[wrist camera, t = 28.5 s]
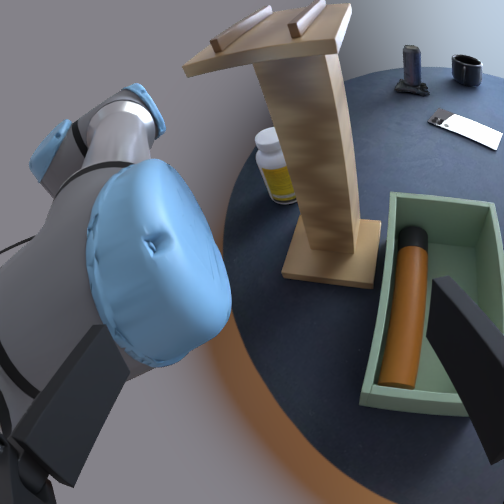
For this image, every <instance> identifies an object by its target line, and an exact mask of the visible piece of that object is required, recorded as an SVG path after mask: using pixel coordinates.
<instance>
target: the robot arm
mask: <svg viewBox="0 0 504 504" xmlns="http://www.w3.org/2000/svg"><path fill="white" fill-rule="evenodd" d="M165 131H166V126H165V123H164V120H163V118H162V116H161V114H160V112H159V110H158V109H157V107H156V105H155V103H154V102H153V100H152V99H151V97H150V95H149V94H148V93H147V92H146V90H145V89H144V87H143V86H141V85H140V84H137V83H135V84H132V85H130V86H128V87H125V88H123V89H122V90H121V91H119V92H118V93H116V94H115V95H113V96H112V97H110V98H108V99H107V100H105V101H104V102H102V103H101V104H99V105H98V106H97V107H95V108H93V109H92V110H91V111H89V112H88V113H87V114H85V115H83V116H82V117H81V118H79V119H78V120H77V121H76V122H74V123H72V122H71V121H69V120H68V119H65V120H64V121H63V122H61V123H60V124H58V125H57V126H56V127H55V128H54V129H53V130H52V131H51V132H50V133H49V134H48V135H47V137H46V138H45V139H44V140H43V141H42V142H41V144H40V145H39V146H38V148H37V149H36V150H35V152H34V153H33V155H32V157H31V159H30V162H29V167H30V170H31V172H32V173H33V175H34V176H35V177H36V179H37V180H38V182H39V183H40V184H41V185H42V186H43V187H44V188H45V189H46V190H47V192H48V193H49V194H50V195H51V196H52V197H53V198H54V200H53V203H52V205H51V208H50V210H49V213H48V216H47V218H46V221H45V224H44V226H43V227H42V229H41V230H40V231H39V232H38V234H37V235H35V236H33V237H30V238H28V239H25V240H23V241H21V242H18V243H16V244H14V245H12V246H10V247H8V248H6V249H4V250H2V251H0V254H1V253H3V252H5V251H7V250H9V249H11V248H14V247H16V246H18V245H20V244H23V243H25V242H28V241H30V240H31V241H30V242H29V243H27V244H26V245H25V246H24V247H22V248H21V249H20V250H19V251H18V252H17V253H16V254H15V255H14V256H13V257H11V258H10V259H9V260H8V261H7V262H6V263H5V264H4V265H3V266H2V267H1V268H0V504H56V500H55V495H54V491H53V487H52V484H51V481H50V480H48V479H47V478H48V476H49V474H50V475H51V476H52V477H53V478H55V479H56V480H57V481H58V482H59V483H62V484H64V485H67V486H70V487H73V488H74V486H75V484H76V481H77V479H78V477H79V475H80V473H81V470H82V468H83V466H84V464H85V462H86V460H87V458H88V455H89V453H90V451H91V449H92V447H93V445H94V443H95V441H96V438H97V437H98V435H99V433H100V431H101V429H102V427H103V424H104V423H105V420H106V419H107V417H108V414H109V413H110V411H111V409H112V407H113V405H114V403H115V401H116V399H117V397H118V395H119V393H120V391H121V389H122V387H123V385H124V383H125V382H126V381H128V380H131V379H133V378H135V377H137V376H139V375H141V374H143V373H145V372H147V371H150V370H152V369H154V368H156V367H165V366H169V365H172V364H175V363H176V362H179V361H180V360H181V359H182V358H184V357H185V356H186V355H187V354H188V353H189V352H190V351H191V350H193V349H195V348H197V347H198V346H200V345H202V344H204V343H206V342H207V341H209V340H211V339H212V338H214V337H216V336H217V335H218V334H219V332H220V331H221V330H222V328H223V327H224V326H225V324H226V323H227V321H228V319H229V316H230V312H231V304H232V300H231V290H230V284H229V280H228V276H227V272H226V269H225V265H224V262H223V259H222V256H221V253H220V251H219V249H218V247H217V245H216V244H215V242H214V239H213V236H212V232H211V229H210V227H209V224H208V222H207V220H206V218H205V216H204V214H203V212H202V210H201V208H200V206H199V205H198V203H197V201H196V199H195V197H194V195H193V193H192V192H191V190H190V189H189V187H188V186H187V184H186V183H185V181H184V180H183V179H182V177H181V176H180V175H179V173H178V172H177V171H176V170H175V169H174V168H173V167H171V166H170V165H169V164H166V163H165V162H164V161H162V160H159V159H151V156H150V149H151V147H152V145H153V142H154V140H156V139H157V138H159V137H160V135H162V134H164V132H165ZM426 338H427V340H428V341H429V343H430V345H431V346H432V348H433V350H434V352H435V353H436V355H437V357H438V358H439V360H440V362H441V364H442V366H443V367H444V369H445V371H446V373H447V375H448V376H449V378H450V380H451V382H452V384H453V386H454V388H455V390H456V391H457V393H458V395H459V397H460V399H461V401H462V403H463V405H464V407H465V409H466V411H467V413H468V415H469V417H470V419H471V421H472V424H473V426H474V428H475V430H476V432H477V434H478V436H479V439H480V441H481V443H482V445H483V448H484V450H485V452H486V455H487V457H488V459H489V462H490V464H491V465H493V464H495V463H497V462H498V461H500V460H502V459H504V335H503V334H502V333H501V331H500V330H499V329H498V328H497V327H496V326H495V324H494V323H493V322H492V321H491V320H490V319H489V317H488V316H487V315H486V314H485V313H484V312H483V311H482V310H481V309H480V307H479V306H478V305H477V304H476V303H475V302H474V301H473V300H472V299H471V298H470V297H469V296H468V294H467V293H466V292H465V291H464V290H463V289H462V288H461V287H460V286H459V285H458V284H457V283H456V282H455V281H454V280H453V279H452V278H451V277H450V276H449V275H447V276H443V277H439V278H434V279H432V289H431V299H430V309H429V317H428V325H427V332H426ZM503 504H504V502H503Z"/></svg>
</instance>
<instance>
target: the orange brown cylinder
mask: <svg viewBox="0 0 504 504" xmlns="http://www.w3.org/2000/svg"><path fill="white" fill-rule="evenodd" d="M427 276H428V234H427V232H426V231H425V230H424V229H422V228H420V227H416V226H409V227H406V228H403V229H402V230H401V231H400V232H399V237H398V251H397V263H396V274H395V283H394V292H393V300H392V307H391V314H390V321H389V327H388V333H387V339H386V345H385V350H384V355H383V360H382V365H381V370H380V375H379V379H378V384H377V385H378V386H385V387H392V388H400V389H408V390H413V389H414V388H415V384H416V379H417V373H418V367H419V360H420V354H421V346H422V339H423V330H424V320H425V309H426V295H427Z"/></svg>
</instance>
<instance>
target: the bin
mask: <svg viewBox="0 0 504 504" xmlns="http://www.w3.org/2000/svg"><path fill="white" fill-rule="evenodd" d="M409 226H416V227H420V228H422V229H424V230H425V231H426V232H427V234H428V276H427V295H426V309H425V320H424V330H423V339H422V346H421V354H420V360H419V367H418V373H417V379H416V384H415V388H414V389H413V390H408V389H400V388H392V387H385V386H378V385H377V384H378V379H379V375H380V370H381V365H382V360H383V355H384V350H385V345H386V339H387V333H388V327H389V321H390V314H391V307H392V300H393V292H394V283H395V274H396V263H397V251H398V237H399V232H400V231H401V230H402V229H403V228H406V227H409ZM447 275H449V276H450V277H451V278H452V279H453V280H454V281H455V282H456V283H457V284H458V285H459V286H460V287H461V288H462V289H463V290H464V291H465V292H466V293H467V294H468V296H469V297H470V298H471V299H472V300H473V301H474V302H475V303H476V304H477V305H478V306H479V307H480V309H481V310H482V311H483V312H484V313H485V314H486V315H487V316H488V317H489V319H490V320H491V321H492V322H493V323H494V324H495V326H496V327H497V328H498V329H499V330H500V331H501V333H502V334H503V335H504V252H503V246H502V240H501V234H500V228H499V223H498V218H497V214H496V209H495V205H494V203H488V202H481V201H474V200H466V199H458V198H450V197H441V196H431V195H421V194H410V193H399V192H397V193H396V192H390V204H389V220H388V233H387V244H386V254H385V263H384V271H383V279H382V286H381V293H380V300H379V307H378V313H377V319H376V324H375V330H374V335H373V340H372V345H371V350H370V355H369V360H368V364H367V369H366V373H365V377H364V381H363V385H362V389H361V395H360V402H359V405H361V406H367V407H373V408H380V409H387V410H395V411H403V412H412V413H421V414H433V415H446V416H465V417H469V415H468V413H467V411H466V409H465V407H464V405H463V403H462V401H461V399H460V397H459V395H458V393H457V391H456V390H455V388H454V386H453V384H452V382H451V380H450V378H449V376H448V375H447V373H446V371H445V369H444V367H443V366H442V364H441V362H440V360H439V358H438V357H437V355H436V353H435V352H434V350H433V348H432V346H431V345H430V343H429V341H428V340H427V338H426V332H427V325H428V317H429V309H430V299H431V289H432V279H434V278H439V277H443V276H447Z"/></svg>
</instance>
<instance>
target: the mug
mask: <svg viewBox="0 0 504 504" xmlns="http://www.w3.org/2000/svg"><path fill="white" fill-rule="evenodd" d="M452 75H453V77H454V79H455V80H456V81H458V82H459V83H461V84H463V85H466V86H478V85H480V83H481V81H482V63H481V62H480V61H479V60H477V59H475V58H473V57H470V56H466V55H453V56H452Z"/></svg>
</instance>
